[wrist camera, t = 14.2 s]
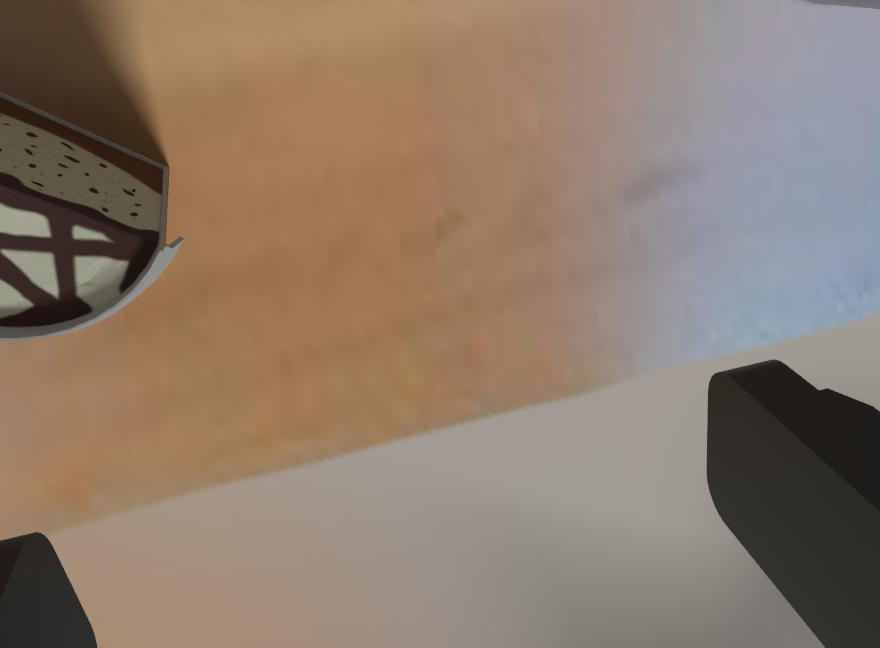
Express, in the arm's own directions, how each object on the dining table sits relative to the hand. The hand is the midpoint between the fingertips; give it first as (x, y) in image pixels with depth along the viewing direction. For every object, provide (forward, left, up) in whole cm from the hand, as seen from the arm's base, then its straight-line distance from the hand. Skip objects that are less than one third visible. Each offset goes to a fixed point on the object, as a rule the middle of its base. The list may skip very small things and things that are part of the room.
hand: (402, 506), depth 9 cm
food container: (+12, +1, -28) cm, 31 cm away
